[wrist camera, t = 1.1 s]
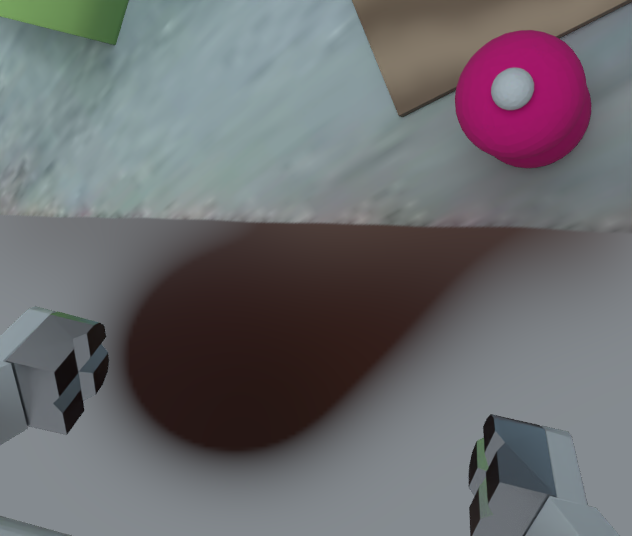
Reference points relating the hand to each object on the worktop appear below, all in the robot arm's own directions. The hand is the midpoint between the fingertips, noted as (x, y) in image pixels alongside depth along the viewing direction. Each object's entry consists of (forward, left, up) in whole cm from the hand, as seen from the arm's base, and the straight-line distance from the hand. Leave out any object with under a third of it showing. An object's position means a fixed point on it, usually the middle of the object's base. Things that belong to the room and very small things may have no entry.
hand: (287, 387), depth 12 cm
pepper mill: (-7, -4, -36) cm, 37 cm away
